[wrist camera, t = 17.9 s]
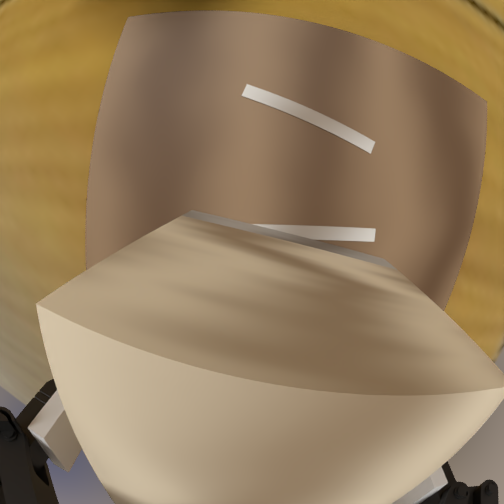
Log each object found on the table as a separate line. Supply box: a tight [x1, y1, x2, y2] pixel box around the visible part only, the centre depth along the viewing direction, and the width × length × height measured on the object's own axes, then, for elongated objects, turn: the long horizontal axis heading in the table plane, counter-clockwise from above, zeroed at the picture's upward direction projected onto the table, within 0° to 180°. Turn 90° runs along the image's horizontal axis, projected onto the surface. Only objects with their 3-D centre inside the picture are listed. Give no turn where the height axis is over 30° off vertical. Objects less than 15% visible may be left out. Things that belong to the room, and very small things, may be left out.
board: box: [86, 11, 487, 311], centre depth 13 cm, size 20×24×1 cm
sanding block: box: [36, 210, 504, 504], centre depth 9 cm, size 9×13×9 cm
